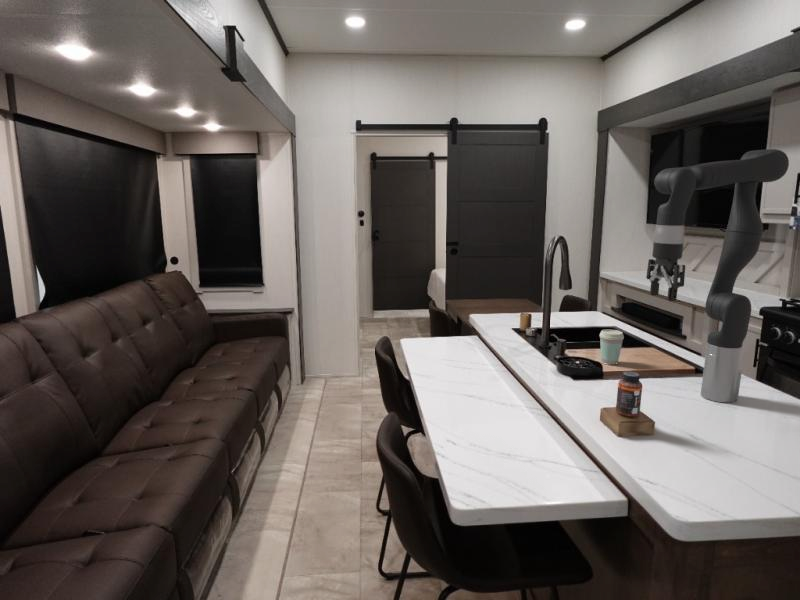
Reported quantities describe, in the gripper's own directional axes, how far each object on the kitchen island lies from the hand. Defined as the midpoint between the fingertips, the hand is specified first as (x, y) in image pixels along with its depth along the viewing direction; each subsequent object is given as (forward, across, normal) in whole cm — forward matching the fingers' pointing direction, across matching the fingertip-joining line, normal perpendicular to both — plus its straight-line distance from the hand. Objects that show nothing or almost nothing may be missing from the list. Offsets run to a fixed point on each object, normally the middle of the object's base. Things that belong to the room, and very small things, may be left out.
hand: (662, 298), depth 152 cm
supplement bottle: (+29, -13, +15) cm, 35 cm away
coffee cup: (+33, +41, -8) cm, 53 cm away
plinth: (+33, -13, +15) cm, 39 cm away
